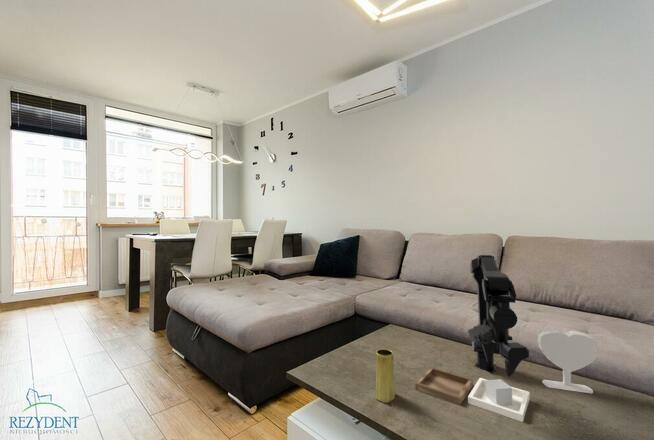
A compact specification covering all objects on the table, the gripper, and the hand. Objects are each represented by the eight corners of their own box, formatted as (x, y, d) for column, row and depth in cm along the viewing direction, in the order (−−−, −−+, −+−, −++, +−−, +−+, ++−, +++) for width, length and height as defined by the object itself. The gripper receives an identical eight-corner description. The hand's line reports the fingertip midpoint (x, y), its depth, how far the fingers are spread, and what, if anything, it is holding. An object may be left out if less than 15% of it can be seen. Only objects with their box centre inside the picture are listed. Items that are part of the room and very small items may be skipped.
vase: (395, 403, 93) (394, 357, 93) (375, 401, 94) (374, 355, 94) (395, 392, 99) (394, 348, 99) (376, 391, 100) (375, 347, 100)
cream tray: (479, 385, 103) (479, 377, 103) (529, 400, 94) (529, 392, 94) (468, 405, 92) (467, 396, 92) (522, 424, 83) (522, 415, 83)
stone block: (486, 396, 95) (485, 380, 95) (501, 395, 96) (500, 379, 96) (496, 406, 90) (496, 389, 90) (512, 404, 91) (512, 387, 91)
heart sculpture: (592, 386, 101) (591, 331, 101) (600, 394, 96) (599, 337, 96) (537, 378, 106) (536, 326, 106) (541, 386, 101) (540, 331, 101)
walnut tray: (431, 373, 111) (431, 366, 111) (473, 386, 102) (472, 379, 102) (415, 391, 100) (415, 383, 100) (460, 407, 91) (460, 398, 91)
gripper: (456, 309, 101) (457, 357, 101) (491, 329, 83) (492, 387, 83) (488, 308, 102) (489, 355, 102) (530, 327, 84) (531, 384, 84)
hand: (498, 369), depth 93 cm, fingers open, 9 cm apart
